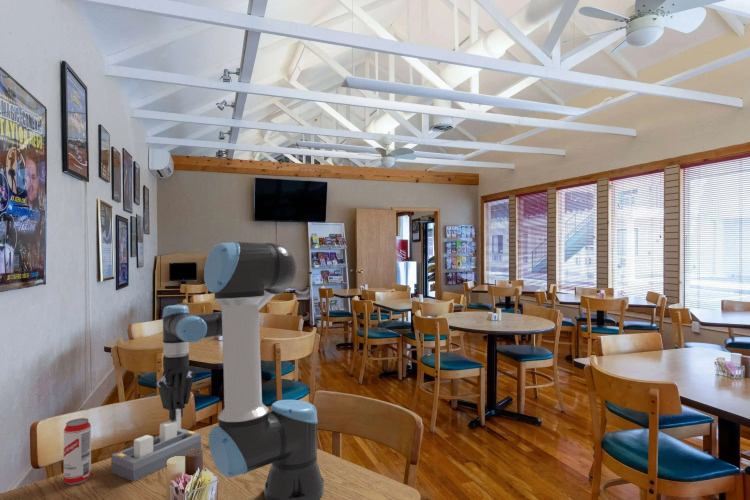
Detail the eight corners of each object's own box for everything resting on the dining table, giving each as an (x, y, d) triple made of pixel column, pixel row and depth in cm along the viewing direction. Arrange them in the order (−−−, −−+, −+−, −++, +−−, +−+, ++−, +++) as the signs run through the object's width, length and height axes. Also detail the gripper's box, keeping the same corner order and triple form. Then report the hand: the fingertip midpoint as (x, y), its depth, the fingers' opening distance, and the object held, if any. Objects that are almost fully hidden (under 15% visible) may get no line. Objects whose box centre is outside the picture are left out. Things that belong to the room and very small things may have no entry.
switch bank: (200, 450, 140) (200, 433, 140) (133, 481, 121) (133, 462, 121) (179, 443, 145) (179, 426, 145) (111, 472, 126) (111, 453, 126)
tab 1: (153, 457, 128) (153, 436, 128) (139, 463, 124) (139, 441, 124) (147, 455, 129) (147, 434, 129) (133, 461, 125) (133, 439, 125)
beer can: (77, 487, 118) (77, 427, 118) (57, 484, 119) (57, 425, 119) (96, 475, 124) (96, 418, 124) (77, 473, 125) (77, 416, 125)
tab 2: (176, 440, 139) (176, 421, 139) (165, 445, 135) (165, 426, 135) (171, 438, 140) (171, 419, 140) (159, 443, 137) (159, 424, 137)
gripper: (186, 349, 148) (186, 420, 148) (149, 357, 136) (149, 434, 136) (201, 351, 144) (201, 424, 144) (164, 360, 133) (164, 439, 133)
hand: (176, 429), depth 140 cm, fingers closed
